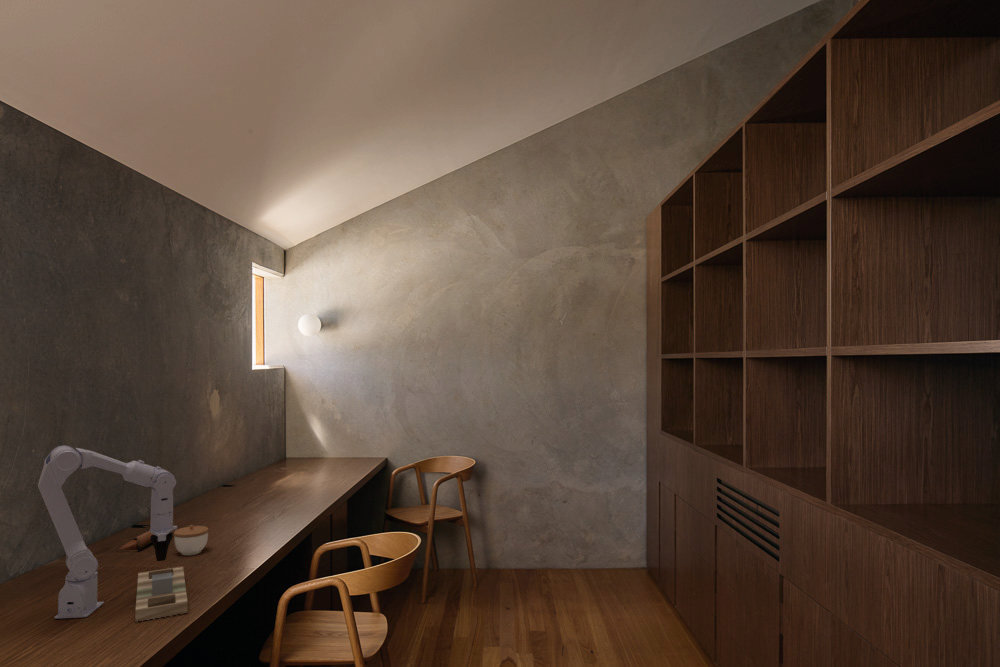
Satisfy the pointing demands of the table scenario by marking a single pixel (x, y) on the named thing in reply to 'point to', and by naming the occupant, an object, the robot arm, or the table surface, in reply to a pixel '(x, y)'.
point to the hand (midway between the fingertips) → (161, 560)
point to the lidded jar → (191, 539)
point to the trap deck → (160, 596)
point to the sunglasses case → (138, 542)
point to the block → (162, 583)
